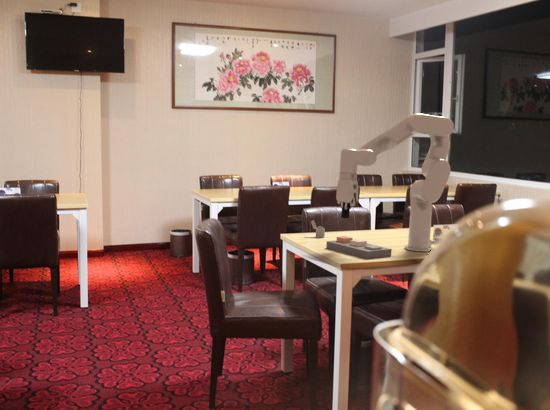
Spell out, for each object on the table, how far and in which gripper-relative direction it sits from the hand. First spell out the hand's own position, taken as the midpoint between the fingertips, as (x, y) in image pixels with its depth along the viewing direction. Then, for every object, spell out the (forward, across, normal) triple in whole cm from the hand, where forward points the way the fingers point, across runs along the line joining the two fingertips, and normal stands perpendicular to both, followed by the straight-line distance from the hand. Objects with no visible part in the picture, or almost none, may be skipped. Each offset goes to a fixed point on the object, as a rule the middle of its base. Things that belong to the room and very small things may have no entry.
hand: (345, 217), depth 264 cm
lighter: (+14, +30, -10) cm, 34 cm away
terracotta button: (+12, 0, 0) cm, 12 cm away
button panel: (+14, -9, 0) cm, 16 cm away
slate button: (+13, -18, 0) cm, 22 cm away
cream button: (+12, -9, 0) cm, 15 cm away
